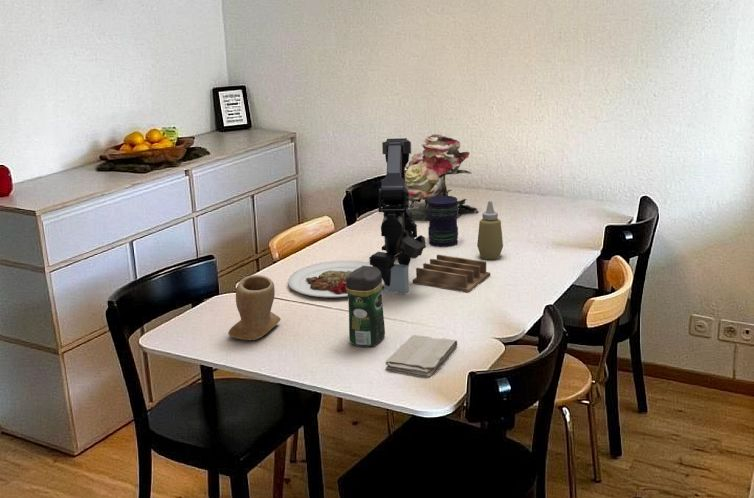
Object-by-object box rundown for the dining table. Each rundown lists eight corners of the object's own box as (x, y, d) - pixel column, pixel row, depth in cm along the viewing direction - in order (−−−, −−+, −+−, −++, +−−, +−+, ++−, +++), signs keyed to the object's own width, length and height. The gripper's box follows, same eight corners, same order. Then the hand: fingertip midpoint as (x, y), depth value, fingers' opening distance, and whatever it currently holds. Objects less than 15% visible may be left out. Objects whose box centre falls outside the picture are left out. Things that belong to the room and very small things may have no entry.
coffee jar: (360, 330, 215) (356, 261, 209) (388, 334, 212) (386, 264, 206) (344, 345, 206) (340, 274, 201) (374, 349, 204) (371, 278, 198)
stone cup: (263, 346, 208) (258, 290, 203) (222, 340, 213) (216, 285, 208) (293, 323, 221) (288, 269, 216) (254, 318, 226) (249, 265, 221)
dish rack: (412, 283, 246) (411, 268, 244) (436, 267, 258) (435, 253, 256) (468, 292, 236) (468, 277, 235) (490, 275, 248) (490, 261, 247)
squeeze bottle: (502, 261, 260) (502, 205, 254) (476, 260, 262) (475, 205, 256) (503, 253, 267) (504, 198, 262) (478, 252, 269) (478, 198, 263)
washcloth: (383, 372, 193) (382, 360, 192) (412, 341, 208) (412, 330, 207) (432, 380, 188) (431, 368, 187) (458, 348, 204) (458, 336, 203)
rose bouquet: (419, 201, 331) (417, 125, 322) (484, 210, 315) (484, 131, 305) (381, 217, 312) (377, 137, 302) (449, 228, 295) (447, 144, 286)
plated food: (342, 259, 269) (342, 249, 268) (411, 280, 248) (410, 269, 247) (267, 285, 249) (266, 275, 248) (335, 310, 229) (334, 299, 228)
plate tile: (384, 290, 241) (383, 264, 238) (387, 288, 243) (386, 262, 240) (405, 294, 237) (404, 267, 235) (409, 292, 239) (408, 265, 237)
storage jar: (443, 249, 274) (442, 205, 269) (422, 243, 281) (421, 199, 276) (464, 242, 280) (464, 198, 275) (443, 236, 287) (442, 193, 282)
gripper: (402, 241, 223) (404, 296, 227) (435, 222, 238) (436, 274, 242) (367, 236, 228) (369, 289, 233) (401, 218, 243) (403, 268, 248)
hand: (396, 280), depth 239 cm, fingers open, 9 cm apart
